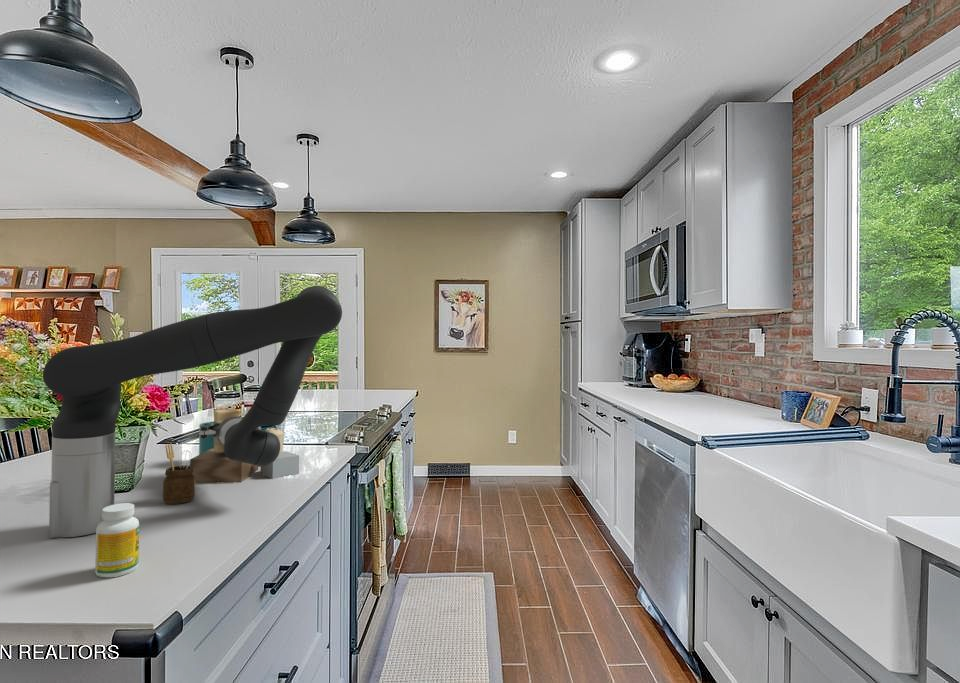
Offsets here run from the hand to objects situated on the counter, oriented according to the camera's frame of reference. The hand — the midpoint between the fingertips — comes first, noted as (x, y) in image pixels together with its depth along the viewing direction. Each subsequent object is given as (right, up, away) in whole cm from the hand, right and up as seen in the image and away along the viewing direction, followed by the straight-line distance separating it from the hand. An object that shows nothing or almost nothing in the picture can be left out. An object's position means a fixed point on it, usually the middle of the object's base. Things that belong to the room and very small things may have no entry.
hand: (224, 425), depth 136 cm
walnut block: (+1, -13, -2) cm, 13 cm away
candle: (+8, -13, +11) cm, 19 cm away
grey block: (+14, -13, +1) cm, 19 cm away
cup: (-7, -13, +9) cm, 17 cm away
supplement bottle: (+12, -13, -57) cm, 60 cm away
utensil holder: (+1, -13, -23) cm, 26 cm away
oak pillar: (+1, -6, -2) cm, 7 cm away
